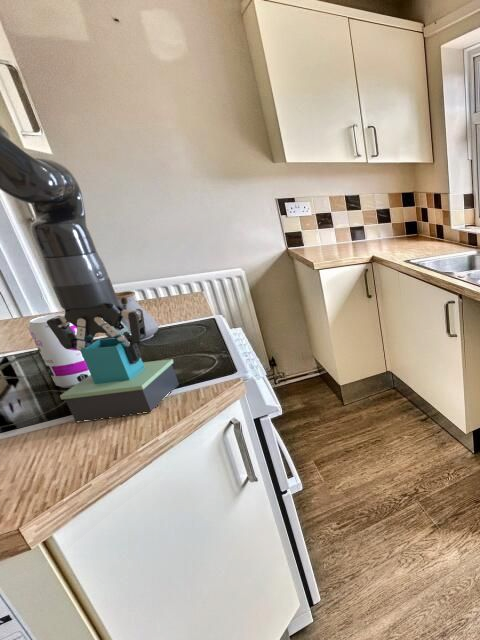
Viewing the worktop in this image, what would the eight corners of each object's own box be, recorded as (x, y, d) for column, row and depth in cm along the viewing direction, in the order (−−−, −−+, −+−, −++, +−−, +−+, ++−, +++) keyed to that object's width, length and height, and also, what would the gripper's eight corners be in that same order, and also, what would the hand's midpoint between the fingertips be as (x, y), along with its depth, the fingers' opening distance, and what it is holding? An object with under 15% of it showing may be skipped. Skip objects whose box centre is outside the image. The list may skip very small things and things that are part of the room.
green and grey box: (73, 424, 78) (59, 395, 75) (113, 392, 89) (102, 366, 87) (152, 413, 81) (141, 385, 78) (181, 384, 92) (172, 359, 90)
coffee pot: (107, 339, 119) (86, 287, 113) (158, 328, 126) (140, 279, 121) (115, 360, 105) (91, 302, 99) (172, 346, 112) (152, 292, 107)
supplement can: (115, 373, 98) (90, 312, 92) (76, 390, 90) (45, 324, 84) (87, 371, 99) (60, 310, 93) (46, 388, 92) (13, 323, 86)
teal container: (94, 384, 79) (79, 350, 77) (112, 371, 84) (98, 339, 82) (129, 380, 81) (116, 346, 78) (144, 368, 86) (132, 336, 83)
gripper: (138, 271, 80) (167, 352, 87) (46, 277, 77) (83, 361, 83) (116, 280, 74) (149, 367, 80) (13, 287, 70) (57, 378, 77)
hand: (115, 364), depth 82 cm, fingers closed on teal container, 5 cm apart
